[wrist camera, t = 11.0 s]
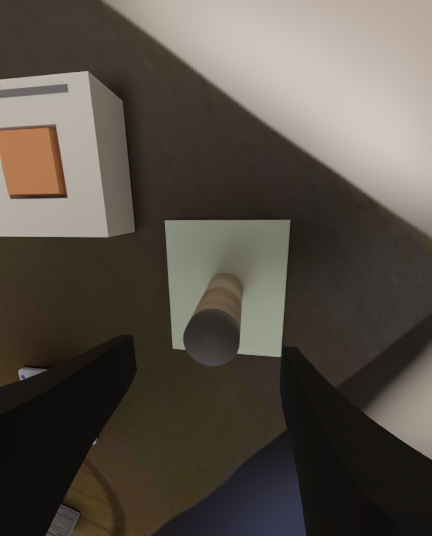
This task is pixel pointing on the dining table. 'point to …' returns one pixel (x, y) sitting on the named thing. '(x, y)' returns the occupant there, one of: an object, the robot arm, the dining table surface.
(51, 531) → the medicine box
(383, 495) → the robot arm
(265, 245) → the sage board
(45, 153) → the button
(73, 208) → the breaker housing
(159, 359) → the dining table surface
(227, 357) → the tan lidded jar
